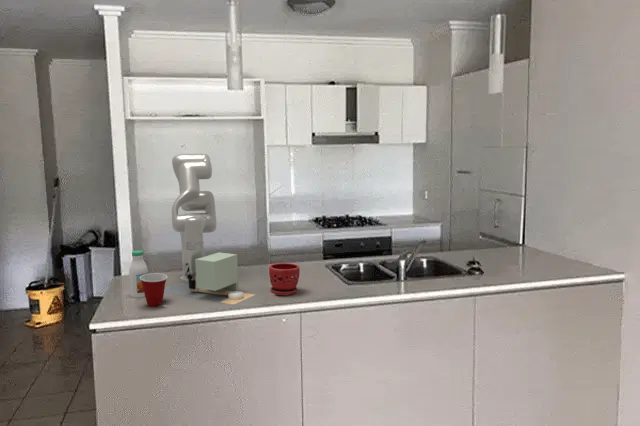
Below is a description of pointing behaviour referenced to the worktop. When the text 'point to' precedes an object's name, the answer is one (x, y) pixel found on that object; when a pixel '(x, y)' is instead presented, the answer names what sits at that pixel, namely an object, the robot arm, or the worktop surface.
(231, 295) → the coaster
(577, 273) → the worktop surface
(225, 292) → the block
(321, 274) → the worktop surface
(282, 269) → the plant pot
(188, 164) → the robot arm
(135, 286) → the milk bottle
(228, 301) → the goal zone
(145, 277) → the plastic cup
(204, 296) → the board
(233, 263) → the shelf block
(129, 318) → the worktop surface
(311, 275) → the worktop surface
